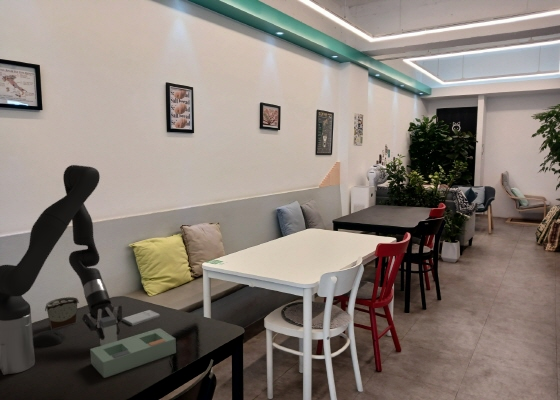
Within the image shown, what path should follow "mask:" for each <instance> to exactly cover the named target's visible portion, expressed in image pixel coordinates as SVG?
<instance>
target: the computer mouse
mask: <svg viewBox="0 0 560 400" xmlns="http://www.w3.org/2000/svg"><path fill="white" fill-rule="evenodd" d="M64 340H66V336H65V335H64V333H62V332H61V331H58V330H56V329H53V330H51V329H47V330H42V331H40V332H39V333H37V334H35V336H33V345H34V347H44V346H46V345H48V346H58V345H61V344H62V342H64Z"/></svg>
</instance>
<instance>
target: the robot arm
mask: <svg viewBox="0 0 560 400" xmlns="http://www.w3.org/2000/svg"><path fill="white" fill-rule="evenodd" d="M100 177H101V176H100V172H99V171H98V169H97V168H95V167H93V166H87V165H86V166H85V165H78V164H71V165H69V166H67V167H66V168H65V170H64V172H63V178H62V179H63V185H64V189H65V194H66V195H65V196H64V197H62V198H61V199H59V200H57V201H56V202H53V203H52V204H51V205H49V206H48V207H46V208H45V209H44V210H43V211H42V212H41V213H40V214H39V216H38V217H37V219H36V221H35V222H34V223H33V225H32V227H31V230H30V234H29V243H28V248H27V249H26V251H25V254H24V255H23V257H22V258H21V259H20V261H19V262H18V263H17V264H16V265H13V264H2V265H0V371H1V373H2V375H4V376H5V375H9V374H10V375H12V374H18V373H21V372H24V371H27V370H29V369H31V368H32V367H33V366H35V364H36V359H35V346H34V345H33V338H34V336H33V334H34V333H33V324H32V323H33V322H32V312H31V310H32V308H31V304H30V303H29V302H28V301H26V299H24V297H23V296H24V295H25V294H26V293H28V292H29V291H30V290H31V288H32V287H33V285H34V283H36V280H37V279H38V276H39V274H40V272H41V270H42V268H43V267H44V264H46V263H45V262H46V261H47V259H48V258H49V256H50V254H51V252H52V251H53V249H54V248H55V246H56V245H57V243H58V241H60V239H61V237H62V236H63V235H64V233H65V231H66V230H67V228H68V227H69V225H70V223H72V224H71V225H72V236H73V237H72V238H73V243H74V245H77V246H83V247H84V246H86V247H87V248H86V249H84V248H83V249H79V250H74V251H71V253H70V254H69V256H68V262H69V265H70V267H71V268H72V269H73V271H74V272H75V274H76V275H77V276H78V278H79V279H80V283H81V285H82V289H83V294H84V297H85V300H86V303H87V307H88V309H89V312H88V313H85V314H83V316H82V319H81V320H82V321H83V322H84V324H85V326H87V328H88V329H89V331H91V332H93V331H95V332H97V336H98V339H99V340H100V339H101V340H104V338H105V336H104V333H103V330H102V328H101V324H100V319H101V318H104V317H108V316H113V317H114V318H115V319H116V326H117V337H118V336H119V335H120V333H121V329H120V326H119V324H121V322H122V318H123V307H122V305H119V306H114V305H113V304H112V302H111V298H110V295H109V293H108V291H107V287H106V284H105V283H104V281H103V277H102V275H101V272H100V270H99V269H98V268H97V267H96V268H95V266H97V265H98V264H99V262H100V254H99V251H98V249H97V246H96V244H95V243H96V242H95V239H94V223H93V219H92V217H91V215H90V213H89V211H88V209H87V207H86V205H85V202H86V201H87V199H88V198H89V197H90V196H91V195H92V194H93V192H94V191H95V190H96V189H97V187H98V185H99V183H100ZM113 312H115V313H116V317H115V315H114V313H113ZM92 319H94V320H95V324H94V322H93V321H92Z"/></svg>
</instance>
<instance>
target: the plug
mask: <svg viewBox="0 0 560 400" xmlns="http://www.w3.org/2000/svg"><path fill="white" fill-rule="evenodd" d="M115 318H116V317H115ZM115 318H114V317H113V316H108V317H104V318H101V319H100V324H101V328H102V330H103V333H104V336H105V338H104V340H101V339H99V342H100V343H99V345H100V346H102V345H105V344H109V343H112V342H115V341H118V336H117V326H116V320H117V318H116V319H115Z"/></svg>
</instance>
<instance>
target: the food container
mask: <svg viewBox="0 0 560 400" xmlns="http://www.w3.org/2000/svg"><path fill="white" fill-rule="evenodd" d="M78 304H80V301H79V299H78V298H77V297H73V296H72V297H70V296H68V297H60V298H55V299H53V300H50V301H48V302H47V303H46V305H45V308H44V311H45V312H47V316H48V322H49V326H50V330H57V329H59V328H64V327H68V326H71V325H75V324H77V321H78V320H77V319H78Z"/></svg>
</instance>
